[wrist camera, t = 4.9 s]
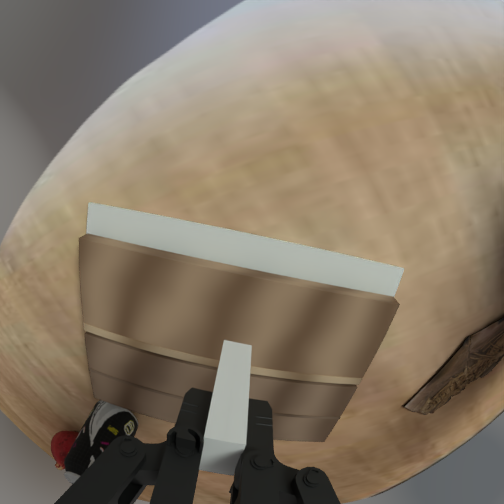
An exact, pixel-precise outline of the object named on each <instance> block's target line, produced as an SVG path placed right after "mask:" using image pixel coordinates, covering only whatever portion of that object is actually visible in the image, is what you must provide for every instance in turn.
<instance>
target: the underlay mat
mask: <svg viewBox="0 0 504 504" xmlns="http://www.w3.org/2000/svg"><path fill="white" fill-rule="evenodd" d="M88 233H89V234H93V235H97V236H101V237H106V238H110V239H115V240H119V241H123V242H128V243H132V244H137V245H141V246H146V247H150V248H155V249H159V250H164V251H168V252H173V253H177V254H182V255H187V256H191V257H196V258H201V259H205V260H210V261H215V262H220V263H224V264H229V265H234V266H239V267H244V268H248V269H253V270H258V271H263V272H268V273H273V274H278V275H283V276H288V277H293V278H298V279H303V280H308V281H313V282H318V283H324V284H329V285H334V286H339V287H345V288H350V289H355V290H361V291H366V292H371V293H377V294H382V295H388V296H393V297H394V296H395V293H396V290H397V288H398V285H399V282H400V279H401V277H402V274H403V271H404V268H402V267H398V266H394V265H389V264H385V263H381V262H377V261H372V260H368V259H364V258H359V257H355V256H351V255H346V254H342V253H337V252H333V251H328V250H324V249H320V248H315V247H311V246H306V245H301V244H297V243H292V242H288V241H283V240H278V239H274V238H269V237H264V236H260V235H255V234H250V233H246V232H241V231H236V230H231V229H226V228H221V227H217V226H212V225H207V224H202V223H197V222H192V221H187V220H182V219H177V218H172V217H167V216H162V215H156V214H151V213H146V212H141V211H136V210H130V209H125V208H120V207H114V206H109V205H104V204H98V203H93V202H89V205H88V216H87V232H86V234H88Z"/></svg>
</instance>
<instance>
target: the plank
mask: <svg viewBox="0 0 504 504" xmlns="http://www.w3.org/2000/svg"><path fill="white" fill-rule="evenodd" d="M79 270H80V289H81V302H82V312H83V321H84V323H83V325H84V330H85V331H87V332H90V333H93V334H95V335H98V336H101V337H104V338H107V339H110V340H113V341H116V342H119V343H123V344H126V345H129V346H132V347H136V348H139V349H142V350H146V351H150V352H153V353H157V354H161V355H164V356H168V357H172V358H176V359H180V360H184V361H189V362H193V363H197V364H202V365H207V366H211V367H216V368H218V366H219V361H220V356H221V352H222V347H223V342H224V340H227V341H232V342H237V343H242V344H247V345H252V351H251V369H250V374H255V375H262V376H269V377H276V378H284V379H292V380H301V381H311V382H322V383H335V384H352V385H359V384H360V382H361V380H362V378H363V376H364V374H365V372H366V371H367V369H368V367H369V365H370V364H371V362H372V360H373V358H374V356H375V354H376V352H377V350H378V349H379V347H380V345H381V343H382V341H383V339H384V337H385V335H386V333H387V331H388V329H389V326H390V324H391V322H392V320H393V318H394V316H395V314H396V311H397V309H398V307H399V305H400V304H399V303H398V302H397V301H396V299H395V298H394V297H393V296H388V295H382V294H377V293H371V292H366V291H361V290H355V289H350V288H345V287H339V286H334V285H329V284H324V283H318V282H313V281H308V280H303V279H298V278H293V277H288V276H283V275H278V274H273V273H268V272H263V271H258V270H253V269H248V268H244V267H239V266H234V265H229V264H224V263H220V262H215V261H210V260H205V259H201V258H196V257H191V256H187V255H182V254H177V253H173V252H168V251H164V250H159V249H155V248H150V247H146V246H141V245H137V244H132V243H128V242H123V241H119V240H115V239H110V238H106V237H101V236H97V235H93V234H89V233H88V234H86V235H84V236H82V237H80V238H79Z"/></svg>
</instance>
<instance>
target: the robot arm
mask: <svg viewBox="0 0 504 504" xmlns="http://www.w3.org/2000/svg"><path fill="white" fill-rule="evenodd" d="M251 351H252V345H247V344H242V343H237V342H232V341H227V340H224V342H223V347H222V352H221V356H220V361H219V366H218V371H217V376H216V380H215V385H214V390H213V392H210V391H206V390H201V389H197V388H193V387H192V388H191V389H190V390H188V391H187V392H186V393H185V396H184V399H183V402H182V405H181V408H180V411H179V415H178V418H177V421H176V424H175V427H173V428H172V429H170V430H169V432H168V434H167V441H165V442H163V443H159V444H145V443H142V442H141V441H140V440H139V439H137V438H135V437H132V436H125V435H124V436H120V437H117V438H116V439H114V440H113V441H112V442H111V443H110V445H109V446H108V447H107V448H106V449H105V450H104V451H103V452H102V453H101V454H100V455H99V457H98V458H97V459H96V460H95V461H94V462H93V463H92V464H91V465H90V466H89V467H88V468H87V470H86V471H85V472H84V473H83V474H82V475H81V476H80V477H79V478H78V479H77V480H76V481H75V482H74V483H73V485H72V486H71V487H70V488H69V489H68V490H67V491H66V492H65V493H64V494H63V495H62V496H61V497H60V498H59V499H58V500H57V501H56V503H54V504H133V503H134V502H135V501H136V500H137V498H138V497H139V496H140V494H141V493H142V491H143V490H144V489H145V487H146V486H147V485H155V487H154V490H153V494H152V497H151V501H150V504H193V498H194V493H195V488H196V482H197V477H198V472H199V470H203V471H208V472H214V473H220V474H226V475H234V473H235V475H234V482H233V484H232V486H231V488H230V491H229V493H231V499H230V504H340V502H339V500H338V498H337V496H336V494H335V491H334V489H333V487H332V485H331V483H330V481H329V479H328V477H327V475H326V474H325V473H324V472H323V471H322V470H320V469H318V468H315V467H306V468H303V469H301V470H297V469H294V468H291V467H288V466H286V465H283V464H282V463H280V462H279V461H278V460H277V459H276V457H275V455H274V450H273V427H272V426H273V420H272V418H273V417H272V408H271V406H270V404H269V403H268V401H264V400H257V399H251V398H249V387H250V369H251Z"/></svg>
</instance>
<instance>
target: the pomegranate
mask: <svg viewBox="0 0 504 504" xmlns="http://www.w3.org/2000/svg"><path fill="white" fill-rule="evenodd" d="M78 434H79V433H78V432H76V431H61V432H58V433H56V434H55V435H54V436H53V439H52V441H51V451H52V454H53V457H54V459H55V460H56V464H55V466H56V468H57V469H59V470H62V469H65V465H64V461H65V458H66V456H67V454H68V452H69V451H70V449H71V447H72V445H73V443H74V441H75V440H76V438H77V436H78Z"/></svg>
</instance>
